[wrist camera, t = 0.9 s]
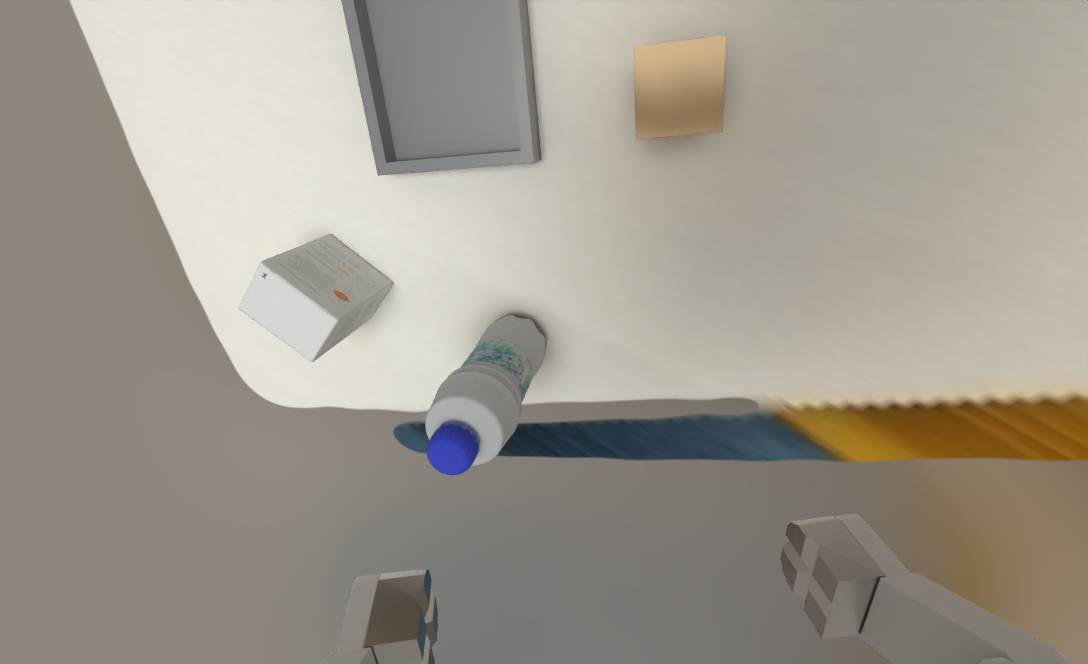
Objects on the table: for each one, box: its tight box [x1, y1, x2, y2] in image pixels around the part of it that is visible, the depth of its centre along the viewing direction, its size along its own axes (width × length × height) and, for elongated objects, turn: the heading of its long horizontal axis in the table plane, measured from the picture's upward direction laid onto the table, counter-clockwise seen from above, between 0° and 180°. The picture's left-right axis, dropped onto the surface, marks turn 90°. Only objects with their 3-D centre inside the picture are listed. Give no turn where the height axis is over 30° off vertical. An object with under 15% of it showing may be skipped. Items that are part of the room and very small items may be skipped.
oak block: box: [634, 35, 726, 139], centre depth 35 cm, size 5×5×12 cm
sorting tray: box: [341, 0, 541, 175], centre depth 40 cm, size 22×14×3 cm, turn 5°
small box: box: [239, 235, 393, 362], centre depth 48 cm, size 8×6×10 cm
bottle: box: [426, 315, 545, 475], centre depth 43 cm, size 7×7×20 cm
